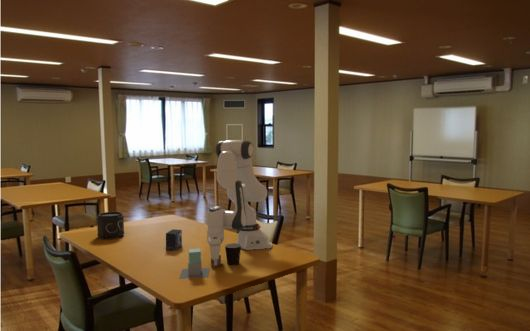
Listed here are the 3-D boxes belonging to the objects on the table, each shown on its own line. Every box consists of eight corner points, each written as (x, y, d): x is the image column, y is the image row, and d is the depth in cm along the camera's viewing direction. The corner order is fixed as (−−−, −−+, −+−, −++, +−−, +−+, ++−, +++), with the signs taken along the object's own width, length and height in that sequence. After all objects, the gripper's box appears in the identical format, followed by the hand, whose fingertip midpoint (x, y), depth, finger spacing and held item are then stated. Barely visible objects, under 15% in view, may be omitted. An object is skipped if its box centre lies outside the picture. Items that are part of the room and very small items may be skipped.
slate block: (201, 270, 204) (201, 259, 203) (200, 274, 198) (200, 263, 197) (189, 271, 203) (189, 259, 203) (188, 275, 197) (188, 263, 197)
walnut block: (220, 264, 215) (220, 255, 214) (220, 267, 210) (220, 258, 209) (211, 264, 214) (211, 255, 214) (211, 267, 209) (210, 258, 209)
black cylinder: (131, 235, 277) (130, 212, 276) (108, 241, 262) (107, 217, 261) (114, 231, 287) (113, 210, 286) (91, 237, 272) (90, 214, 271)
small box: (175, 250, 240) (175, 233, 239) (165, 250, 241) (165, 233, 240) (182, 246, 250) (182, 229, 249) (172, 245, 251) (172, 229, 251)
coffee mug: (234, 267, 210) (234, 248, 209) (222, 264, 214) (221, 246, 213) (247, 261, 219) (247, 243, 219) (234, 258, 224) (234, 241, 223)
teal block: (199, 259, 203) (199, 248, 203) (200, 262, 198) (200, 251, 197) (188, 260, 202) (188, 249, 201) (189, 263, 196) (189, 252, 196)
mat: (209, 268, 208) (209, 267, 208) (208, 278, 194) (208, 277, 194) (182, 269, 207) (182, 268, 207) (179, 279, 193) (179, 278, 193)
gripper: (210, 232, 221) (211, 257, 222) (208, 242, 201) (208, 269, 202) (222, 232, 221) (222, 256, 222) (221, 242, 201) (221, 269, 202)
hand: (216, 262), depth 212 cm, fingers closed on walnut block, 5 cm apart
